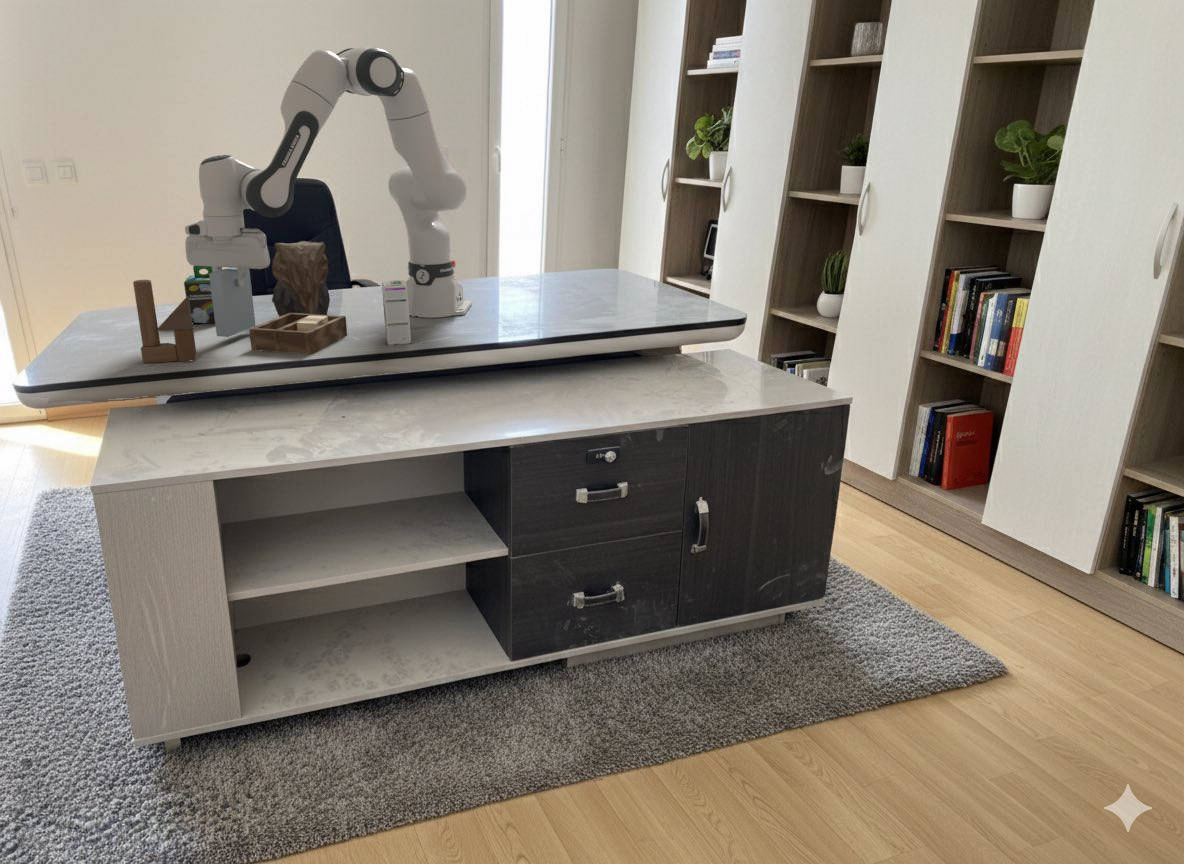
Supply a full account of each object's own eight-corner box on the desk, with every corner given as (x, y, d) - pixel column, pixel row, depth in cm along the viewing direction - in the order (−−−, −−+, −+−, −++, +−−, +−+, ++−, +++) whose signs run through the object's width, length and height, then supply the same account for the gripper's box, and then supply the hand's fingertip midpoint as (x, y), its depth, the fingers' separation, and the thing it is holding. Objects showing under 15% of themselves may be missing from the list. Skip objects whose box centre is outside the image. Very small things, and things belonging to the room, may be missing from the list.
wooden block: (195, 361, 208) (184, 281, 202) (142, 363, 205) (130, 282, 199) (197, 357, 211) (186, 278, 205) (145, 359, 208) (133, 279, 202)
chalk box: (230, 316, 251) (224, 261, 246) (226, 323, 243) (219, 266, 238) (194, 317, 249) (187, 262, 244) (188, 325, 241) (181, 267, 236)
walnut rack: (291, 332, 234) (289, 312, 233) (347, 335, 231) (345, 316, 230) (251, 349, 217) (249, 329, 216) (311, 354, 214) (309, 333, 213)
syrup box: (411, 343, 225) (408, 284, 220) (386, 345, 223) (383, 285, 218) (409, 338, 230) (406, 280, 225) (384, 339, 228) (381, 280, 223)
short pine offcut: (310, 323, 227) (309, 315, 226) (328, 324, 226) (327, 316, 226) (297, 331, 219) (296, 322, 218) (316, 331, 219) (315, 323, 218)
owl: (272, 320, 247) (264, 244, 240) (301, 310, 258) (294, 238, 252) (312, 324, 243) (305, 247, 236) (340, 314, 254) (334, 240, 248)
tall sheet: (244, 325, 233) (237, 265, 228) (255, 326, 232) (249, 265, 227) (216, 336, 222) (209, 273, 217) (228, 337, 221) (220, 274, 216)
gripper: (271, 227, 220) (277, 285, 224) (194, 224, 224) (201, 281, 228) (257, 230, 214) (263, 290, 218) (178, 227, 218) (186, 285, 222)
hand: (231, 285), depth 223 cm, fingers closed on tall sheet, 3 cm apart
